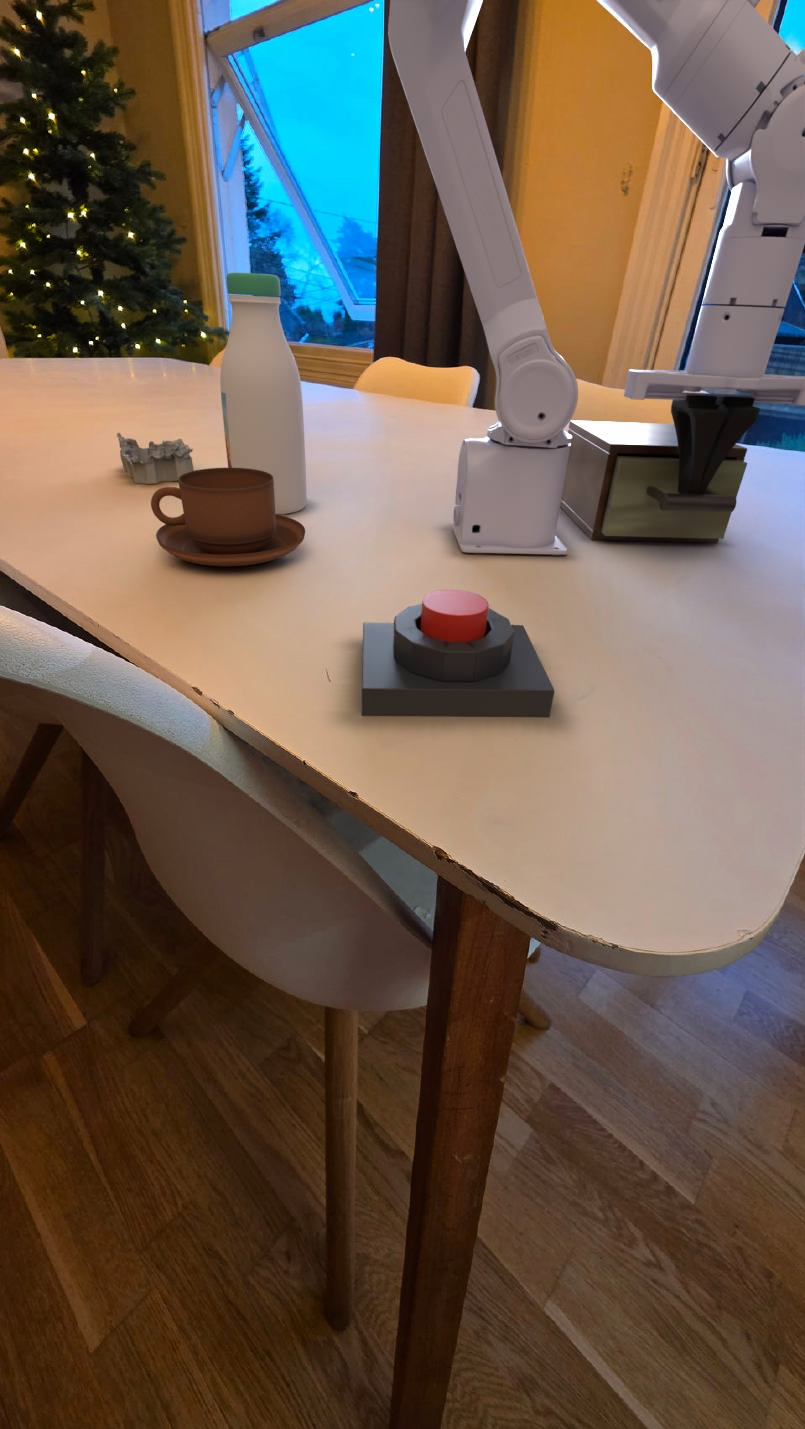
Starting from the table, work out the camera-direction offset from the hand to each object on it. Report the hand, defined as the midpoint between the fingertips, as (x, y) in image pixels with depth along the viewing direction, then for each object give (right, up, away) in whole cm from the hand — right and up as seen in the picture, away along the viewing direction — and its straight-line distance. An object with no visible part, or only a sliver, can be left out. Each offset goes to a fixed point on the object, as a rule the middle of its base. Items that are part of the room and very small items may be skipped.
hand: (689, 494), depth 54 cm
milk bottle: (-39, +3, +12) cm, 41 cm away
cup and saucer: (-39, -5, -1) cm, 39 cm away
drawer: (-1, 0, +8) cm, 8 cm away
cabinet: (-1, +1, +12) cm, 12 cm away
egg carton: (-54, +10, +22) cm, 59 cm away
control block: (-22, -17, -18) cm, 33 cm away
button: (-22, -14, -19) cm, 33 cm away
